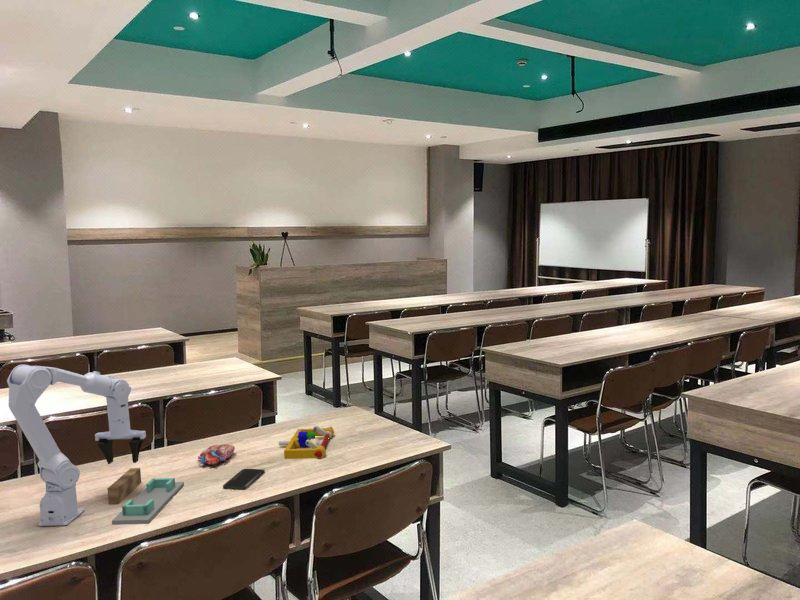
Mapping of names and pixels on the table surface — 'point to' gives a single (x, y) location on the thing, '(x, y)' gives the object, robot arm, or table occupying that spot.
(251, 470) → the phone
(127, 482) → the slat
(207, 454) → the anatomical model
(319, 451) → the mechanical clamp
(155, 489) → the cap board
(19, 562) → the table surface
